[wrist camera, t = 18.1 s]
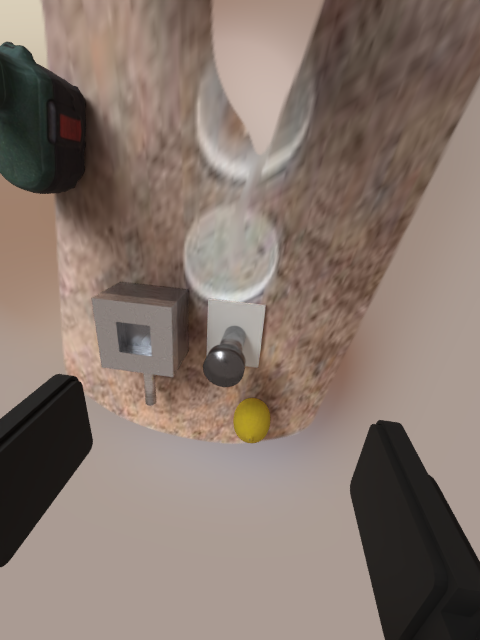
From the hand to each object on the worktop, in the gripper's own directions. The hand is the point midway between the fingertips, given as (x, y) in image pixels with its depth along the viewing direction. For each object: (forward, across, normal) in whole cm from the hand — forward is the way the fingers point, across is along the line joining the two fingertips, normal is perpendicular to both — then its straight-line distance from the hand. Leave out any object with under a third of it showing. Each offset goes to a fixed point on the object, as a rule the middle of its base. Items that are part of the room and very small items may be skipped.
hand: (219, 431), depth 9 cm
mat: (+30, +3, +12) cm, 33 cm away
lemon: (+31, -1, +24) cm, 39 cm away
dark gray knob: (+30, +3, +12) cm, 32 cm away
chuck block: (+30, +15, +15) cm, 37 cm away
